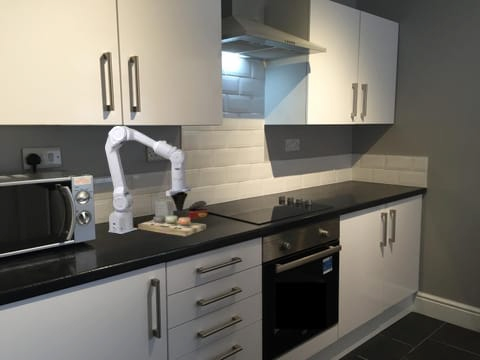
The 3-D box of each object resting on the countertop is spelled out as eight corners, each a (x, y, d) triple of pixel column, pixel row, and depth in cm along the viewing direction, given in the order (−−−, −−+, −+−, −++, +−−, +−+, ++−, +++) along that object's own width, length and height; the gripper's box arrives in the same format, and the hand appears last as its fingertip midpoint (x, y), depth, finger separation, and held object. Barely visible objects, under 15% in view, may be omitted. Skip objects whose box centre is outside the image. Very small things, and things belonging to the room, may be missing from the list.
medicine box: (173, 217, 205) (173, 200, 204) (167, 219, 201) (167, 201, 200) (161, 216, 209) (160, 198, 208) (155, 217, 205) (154, 200, 204)
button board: (185, 236, 170) (185, 230, 170) (138, 228, 183) (137, 223, 183) (205, 229, 182) (205, 223, 182) (159, 222, 195) (159, 217, 195)
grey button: (159, 223, 182) (159, 218, 182) (151, 222, 185) (151, 217, 185) (167, 221, 187) (167, 216, 186) (158, 219, 189) (158, 215, 189)
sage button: (172, 223, 179) (172, 218, 178) (163, 221, 181) (163, 217, 181) (179, 220, 183) (179, 216, 183) (170, 219, 186) (170, 215, 185)
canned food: (191, 227, 205) (181, 210, 203) (194, 220, 215) (184, 204, 213) (211, 217, 203) (201, 199, 201) (213, 210, 213) (203, 193, 211)
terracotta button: (185, 224, 175) (185, 220, 175) (176, 223, 178) (176, 218, 177) (192, 222, 179) (192, 217, 179) (183, 221, 182) (183, 216, 182)
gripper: (175, 181, 169) (176, 214, 171) (196, 177, 182) (197, 208, 183) (161, 180, 173) (162, 212, 175) (183, 176, 185) (184, 206, 187)
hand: (179, 210), depth 179 cm, fingers closed
